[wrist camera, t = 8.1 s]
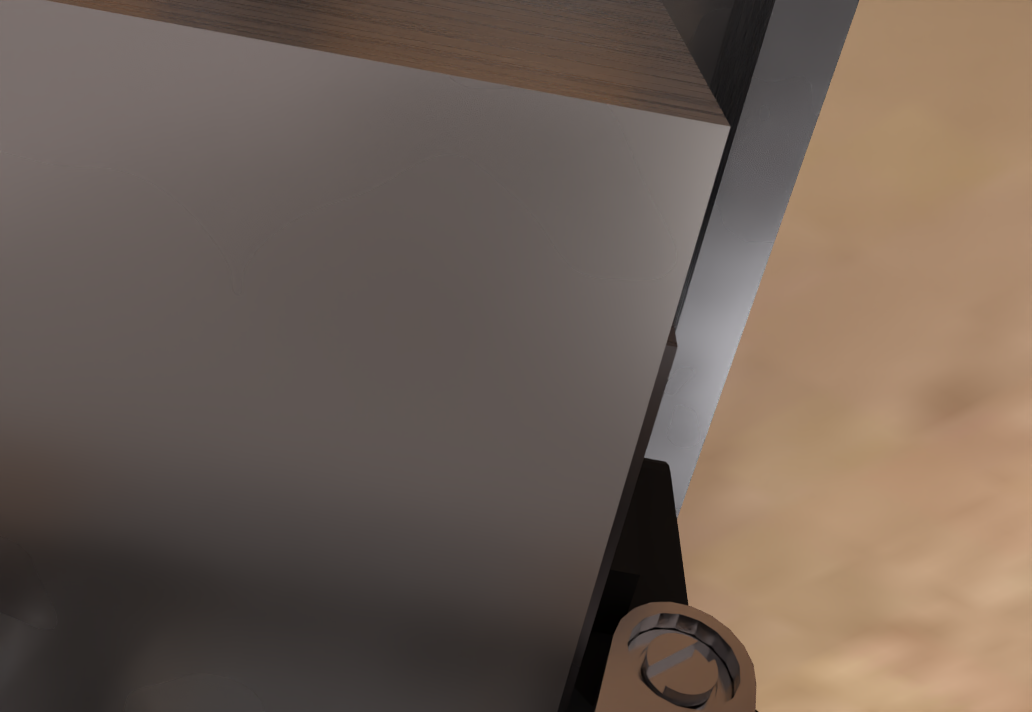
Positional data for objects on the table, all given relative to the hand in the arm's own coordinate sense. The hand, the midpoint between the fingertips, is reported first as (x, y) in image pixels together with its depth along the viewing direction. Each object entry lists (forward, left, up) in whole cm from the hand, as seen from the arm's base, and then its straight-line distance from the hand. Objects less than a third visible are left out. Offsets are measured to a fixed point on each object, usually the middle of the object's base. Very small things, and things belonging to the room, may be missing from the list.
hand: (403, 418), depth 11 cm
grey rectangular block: (0, 0, -1) cm, 1 cm away
